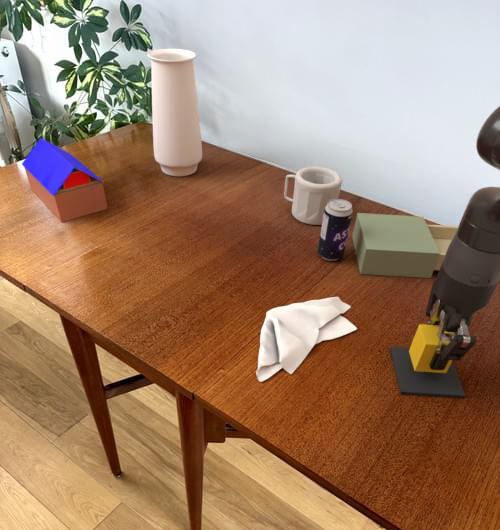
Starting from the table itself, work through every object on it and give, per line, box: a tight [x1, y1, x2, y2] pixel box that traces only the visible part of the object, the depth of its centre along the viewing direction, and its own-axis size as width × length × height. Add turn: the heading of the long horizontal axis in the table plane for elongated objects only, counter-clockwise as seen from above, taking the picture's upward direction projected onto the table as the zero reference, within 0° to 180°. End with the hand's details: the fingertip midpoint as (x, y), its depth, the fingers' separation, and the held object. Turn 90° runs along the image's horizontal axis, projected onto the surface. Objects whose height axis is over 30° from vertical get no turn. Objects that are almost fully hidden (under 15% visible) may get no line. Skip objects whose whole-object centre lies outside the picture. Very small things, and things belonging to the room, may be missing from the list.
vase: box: [147, 48, 203, 177], centre depth 119 cm, size 13×13×28 cm
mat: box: [389, 346, 466, 399], centre depth 76 cm, size 10×10×1 cm
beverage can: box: [317, 198, 354, 262], centre depth 96 cm, size 6×6×12 cm
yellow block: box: [409, 323, 455, 373], centre depth 72 cm, size 5×4×6 cm
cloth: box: [255, 296, 358, 383], centre depth 81 cm, size 26×14×2 cm, turn 130°
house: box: [21, 137, 108, 223], centre depth 110 cm, size 12×20×12 cm, turn 38°
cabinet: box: [351, 212, 440, 279], centre depth 99 cm, size 15×15×6 cm
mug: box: [283, 166, 343, 226], centre depth 110 cm, size 14×11×10 cm
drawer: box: [426, 223, 459, 271], centre depth 99 cm, size 18×13×4 cm
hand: (432, 356), depth 73 cm, fingers closed on yellow block, 4 cm apart
